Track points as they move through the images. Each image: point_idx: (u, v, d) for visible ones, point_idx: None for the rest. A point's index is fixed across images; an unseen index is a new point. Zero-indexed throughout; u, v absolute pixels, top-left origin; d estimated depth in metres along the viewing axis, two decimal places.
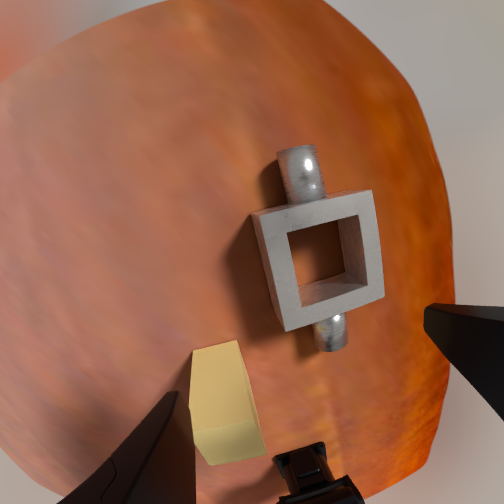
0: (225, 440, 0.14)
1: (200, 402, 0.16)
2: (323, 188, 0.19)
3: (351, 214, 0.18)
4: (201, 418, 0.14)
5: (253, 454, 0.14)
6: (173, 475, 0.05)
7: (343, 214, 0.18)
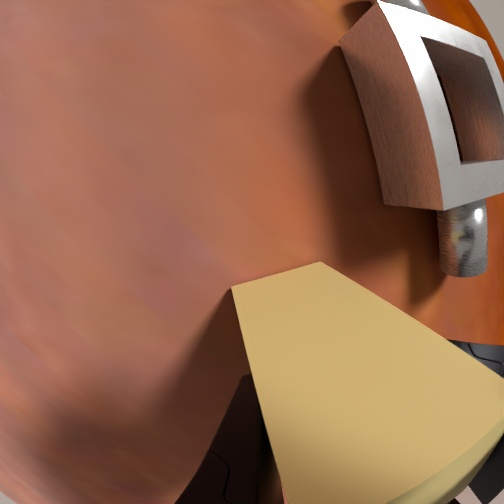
0: None
1: (306, 395, 0.04)
2: None
3: (478, 54, 0.07)
4: (342, 458, 0.03)
5: None
6: (271, 459, 0.05)
7: (471, 49, 0.07)
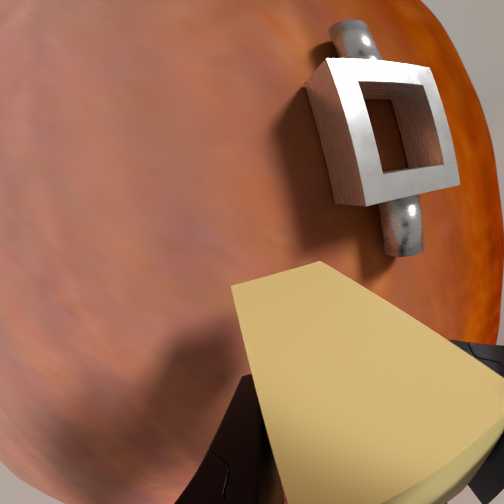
0: None
1: (305, 394, 0.04)
2: (382, 61, 0.14)
3: (416, 83, 0.13)
4: (341, 456, 0.03)
5: (442, 503, 0.03)
6: (271, 459, 0.05)
7: (409, 80, 0.13)
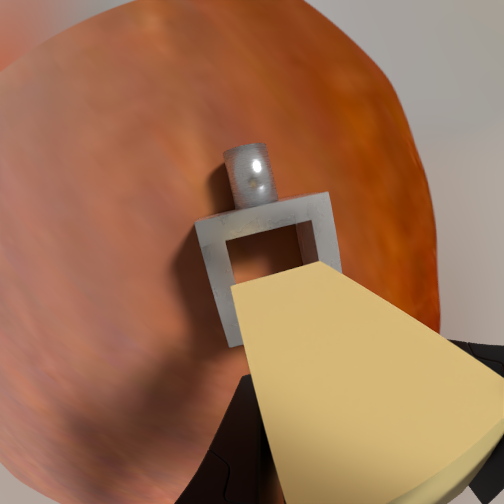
0: None
1: (305, 395, 0.04)
2: (273, 191, 0.18)
3: (302, 220, 0.17)
4: (340, 458, 0.03)
5: None
6: (271, 459, 0.05)
7: (292, 220, 0.17)
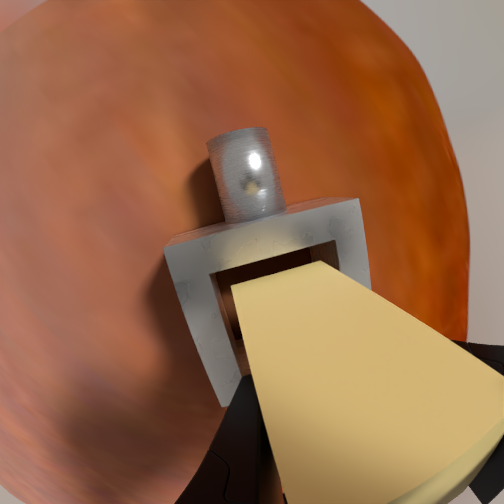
0: None
1: (306, 394, 0.04)
2: (278, 197, 0.12)
3: (323, 240, 0.11)
4: (342, 458, 0.03)
5: None
6: (271, 459, 0.05)
7: (308, 240, 0.11)
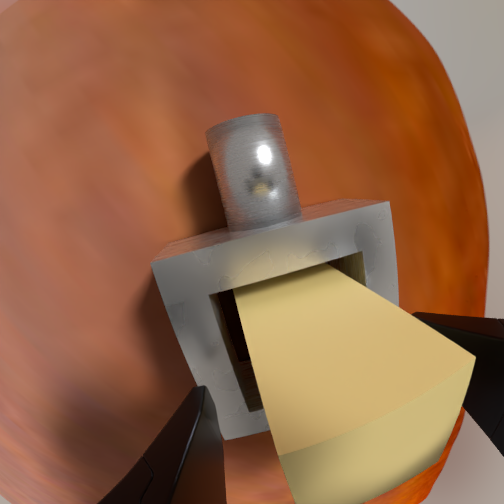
0: (385, 454, 0.04)
1: (288, 353, 0.06)
2: (293, 198, 0.10)
3: (348, 252, 0.09)
4: (314, 397, 0.04)
5: (417, 469, 0.04)
6: (207, 472, 0.05)
7: (331, 253, 0.09)
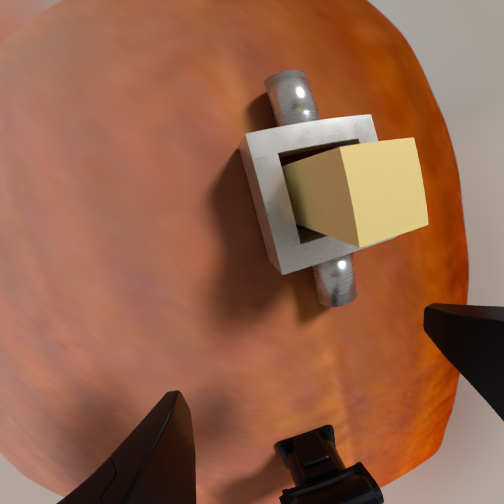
0: (387, 176, 0.10)
1: None
2: (317, 114, 0.16)
3: (350, 137, 0.15)
4: None
5: (415, 219, 0.11)
6: (173, 475, 0.05)
7: (341, 137, 0.15)
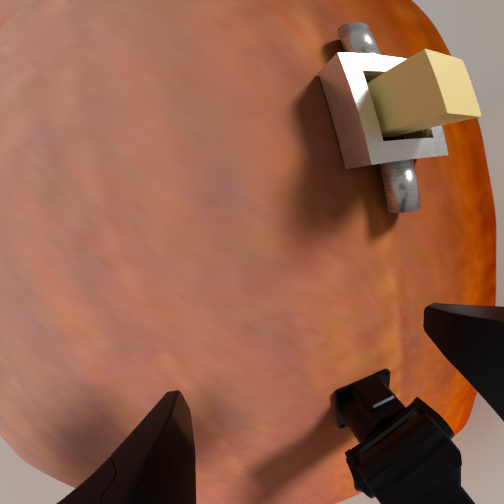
0: (452, 75, 0.10)
1: None
2: None
3: None
4: None
5: (473, 109, 0.11)
6: (173, 475, 0.05)
7: None
